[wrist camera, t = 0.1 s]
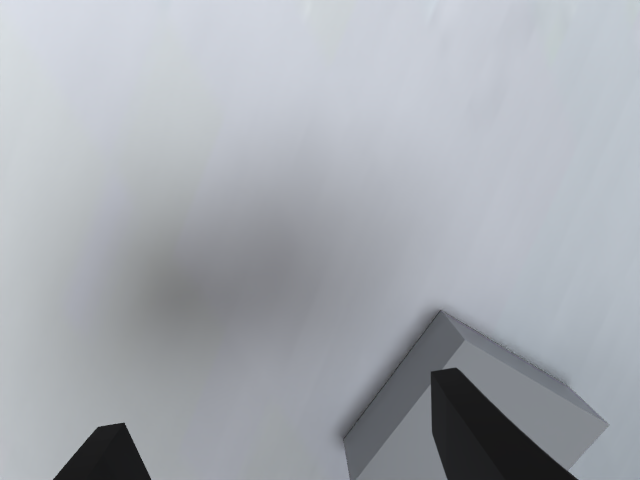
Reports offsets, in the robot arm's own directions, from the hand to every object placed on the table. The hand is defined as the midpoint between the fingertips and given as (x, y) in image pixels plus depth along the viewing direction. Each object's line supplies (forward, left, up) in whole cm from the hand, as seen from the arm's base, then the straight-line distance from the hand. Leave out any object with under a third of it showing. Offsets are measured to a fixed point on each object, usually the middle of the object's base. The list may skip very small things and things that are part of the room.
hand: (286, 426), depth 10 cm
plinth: (-2, -12, -11) cm, 16 cm away
